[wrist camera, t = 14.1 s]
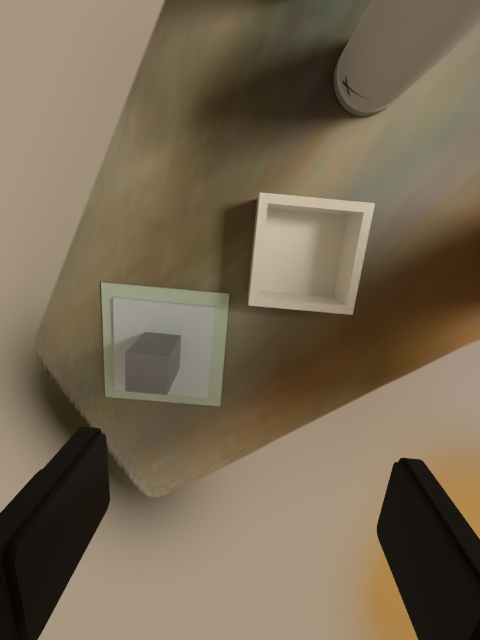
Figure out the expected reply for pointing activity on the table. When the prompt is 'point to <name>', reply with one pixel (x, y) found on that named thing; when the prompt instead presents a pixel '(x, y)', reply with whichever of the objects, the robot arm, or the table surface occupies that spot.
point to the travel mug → (398, 49)
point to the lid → (162, 346)
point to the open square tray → (308, 253)
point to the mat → (170, 296)
